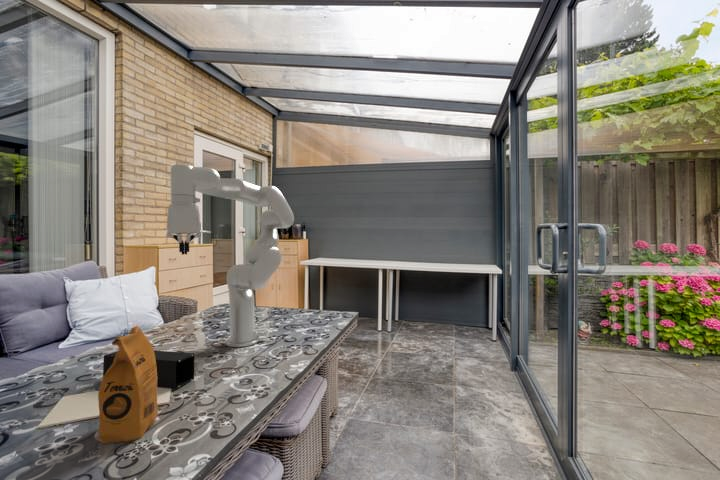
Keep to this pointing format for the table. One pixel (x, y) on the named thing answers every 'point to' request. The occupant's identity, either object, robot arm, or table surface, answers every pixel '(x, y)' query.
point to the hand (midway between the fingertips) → (184, 254)
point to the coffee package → (128, 390)
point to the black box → (166, 367)
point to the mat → (86, 407)
